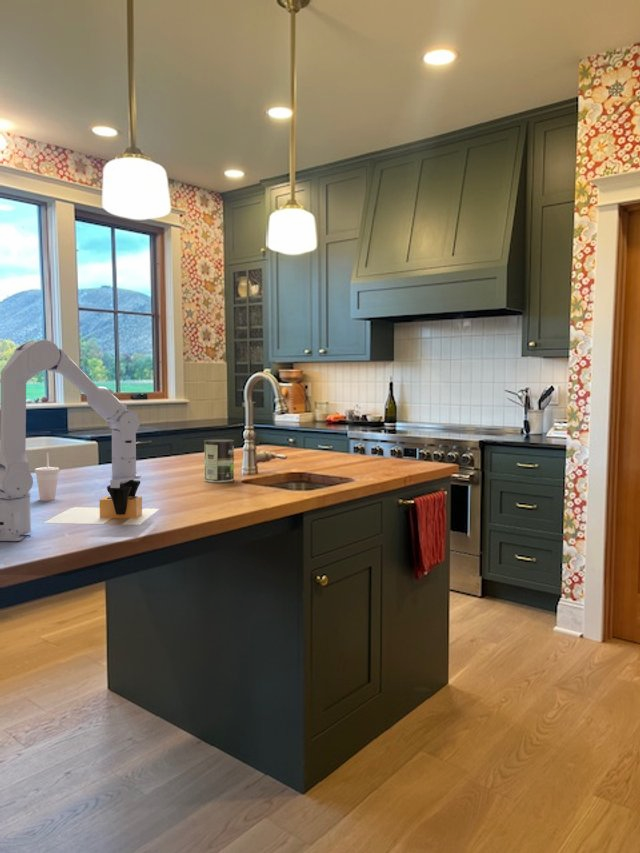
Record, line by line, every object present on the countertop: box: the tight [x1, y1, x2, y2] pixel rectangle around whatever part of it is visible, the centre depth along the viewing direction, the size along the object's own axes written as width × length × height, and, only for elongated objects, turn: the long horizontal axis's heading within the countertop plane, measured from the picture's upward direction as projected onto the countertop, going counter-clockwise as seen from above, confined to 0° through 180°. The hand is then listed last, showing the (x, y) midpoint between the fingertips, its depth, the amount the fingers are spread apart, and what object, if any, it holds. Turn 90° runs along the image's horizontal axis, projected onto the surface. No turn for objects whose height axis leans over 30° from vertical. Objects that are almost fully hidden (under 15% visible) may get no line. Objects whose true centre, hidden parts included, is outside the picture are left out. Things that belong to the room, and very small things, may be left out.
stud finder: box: [99, 495, 143, 518], centre depth 157 cm, size 5×9×5 cm, turn 90°
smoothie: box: [34, 452, 60, 502], centre depth 175 cm, size 6×6×14 cm
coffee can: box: [203, 438, 235, 484], centre depth 218 cm, size 10×10×14 cm
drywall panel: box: [42, 506, 160, 526], centre depth 157 cm, size 18×23×1 cm
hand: (124, 511), depth 157 cm, fingers closed on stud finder, 5 cm apart
